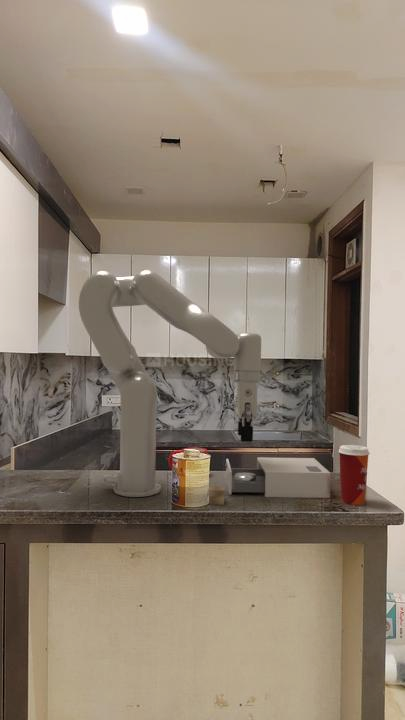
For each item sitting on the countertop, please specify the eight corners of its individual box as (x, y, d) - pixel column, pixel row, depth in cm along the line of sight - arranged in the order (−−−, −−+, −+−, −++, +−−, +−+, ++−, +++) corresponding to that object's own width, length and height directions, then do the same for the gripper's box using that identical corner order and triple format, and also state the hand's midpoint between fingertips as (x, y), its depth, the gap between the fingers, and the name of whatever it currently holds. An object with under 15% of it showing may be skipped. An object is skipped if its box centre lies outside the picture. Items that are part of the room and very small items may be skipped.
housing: (265, 496, 123) (265, 471, 123) (257, 479, 141) (257, 456, 141) (330, 497, 123) (330, 472, 123) (313, 479, 141) (313, 457, 141)
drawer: (227, 494, 124) (228, 471, 124) (224, 478, 140) (224, 458, 140) (292, 495, 124) (292, 472, 124) (281, 479, 140) (282, 459, 140)
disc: (257, 485, 129) (257, 477, 129) (235, 485, 129) (235, 477, 129) (254, 479, 135) (254, 472, 135) (233, 479, 135) (234, 472, 135)
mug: (170, 471, 149) (170, 446, 149) (207, 472, 148) (208, 447, 148) (166, 477, 141) (166, 451, 141) (205, 478, 140) (206, 452, 140)
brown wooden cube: (209, 504, 116) (209, 490, 116) (209, 500, 120) (209, 486, 120) (223, 504, 116) (224, 490, 116) (223, 500, 120) (223, 486, 120)
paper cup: (371, 507, 115) (372, 450, 115) (338, 505, 117) (339, 449, 117) (366, 498, 123) (367, 445, 123) (336, 496, 125) (337, 443, 125)
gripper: (264, 379, 123) (262, 444, 123) (256, 376, 140) (254, 433, 140) (235, 378, 123) (233, 443, 123) (231, 375, 140) (229, 432, 140)
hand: (245, 438), depth 132 cm, fingers open, 9 cm apart
